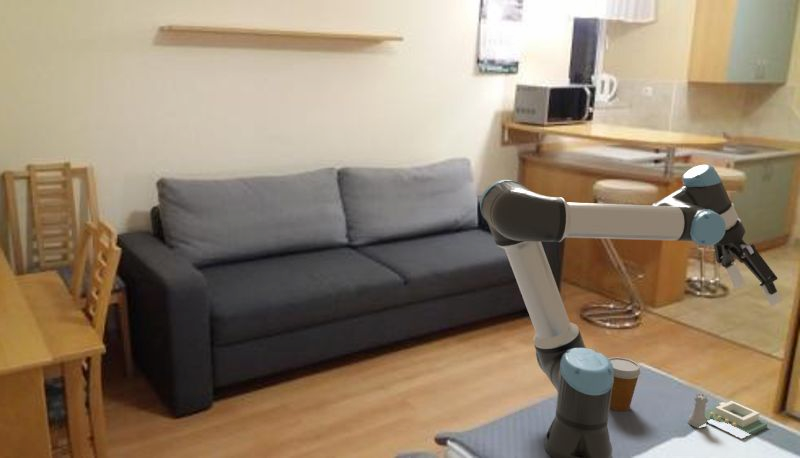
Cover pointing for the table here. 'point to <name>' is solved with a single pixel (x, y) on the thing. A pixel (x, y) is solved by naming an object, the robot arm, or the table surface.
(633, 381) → the disposable coffee cup
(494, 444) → the table surface
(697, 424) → the rook chess piece
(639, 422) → the table surface
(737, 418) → the board
